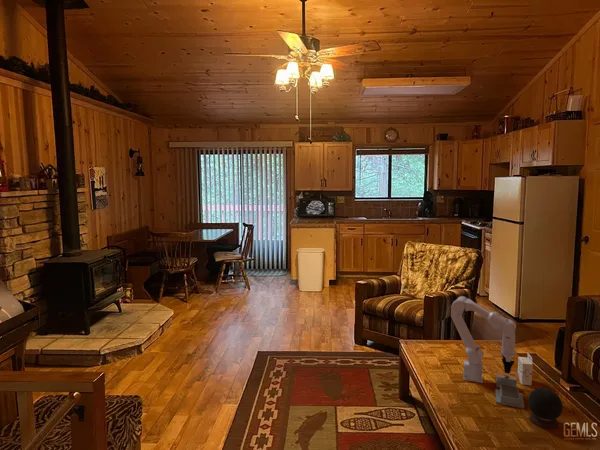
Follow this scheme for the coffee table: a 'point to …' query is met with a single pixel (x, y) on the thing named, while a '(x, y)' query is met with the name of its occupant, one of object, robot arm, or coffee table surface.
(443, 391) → the coffee table surface
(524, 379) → the ink cartridge box
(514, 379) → the housing
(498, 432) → the coffee table surface
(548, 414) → the black ball on base
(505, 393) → the stand
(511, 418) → the coffee table surface
